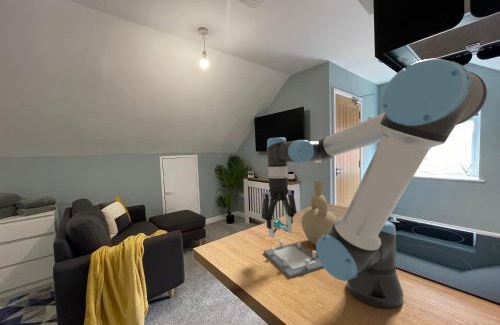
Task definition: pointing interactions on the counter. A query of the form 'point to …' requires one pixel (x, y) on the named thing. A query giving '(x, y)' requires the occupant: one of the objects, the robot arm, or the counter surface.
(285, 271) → the pin tray
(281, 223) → the stick construction toy
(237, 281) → the counter surface
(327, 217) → the vase
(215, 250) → the counter surface
